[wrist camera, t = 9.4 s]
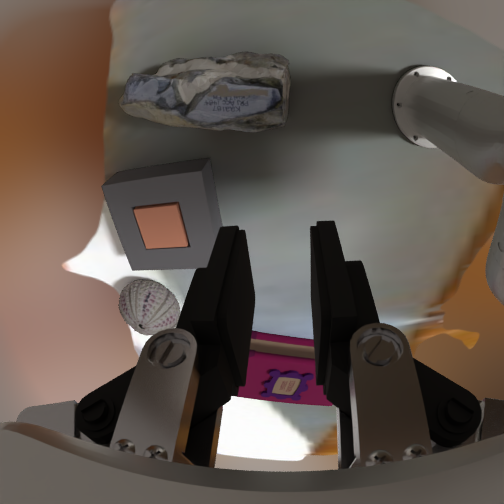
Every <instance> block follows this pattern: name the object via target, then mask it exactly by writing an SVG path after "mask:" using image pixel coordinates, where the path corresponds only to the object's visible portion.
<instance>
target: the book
mask: <svg viewBox="0 0 504 504" xmlns="http://www.w3.org/2000/svg"><path fill="white" fill-rule="evenodd" d="M237 397H244V398H251V399H258V400H266V401H275V402H284V403H295V404H307V405H322V406H332V405H333V404H332V403H331V402H329V401H328V400H327V399H326V395H323V385H319V386H316V372H315V352H314V340H313V339H305V338H297V337H290V336H283V335H276V334H269V333H262V332H257V331H252V334H251V343H250V351H249V360H248V368H247V377H246V384H245V387H241V386H239V392H238V396H237Z"/></svg>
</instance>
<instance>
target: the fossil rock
mask: <svg viewBox="0 0 504 504" xmlns="http://www.w3.org/2000/svg"><path fill="white" fill-rule="evenodd" d="M288 64H289V61H288V60H287V59H285V58H284V57H283V56H281V55H277V54H257V53H252V52H240V53H236V54H232V55H229V56H225V57H220V58H213V57H208V58H197V59H190V60H189V59H181V58H176V59H173V60H170V61H168V62H165V63H163V64H162V65H161V66H160V68H159V70H158V72H157V73H156V74H155V75H149V74H147V75H146V74H137V73H132V75H131V76H130V77H129V79H128V81H127V83H126V87H125V92H124V94H123V95H122V97H121V98H120V100H119V105H120V107H121V108H122V109H123V110H124V112H125V113H127V114H128V115H132V116H134V117H138V118H145V119H147V120H150V121H153V122H156V123H161V124H165V125H169V126H174V127H190V128H202V129H210V130H218V131H221V130H224V129H231V130H239V131H244V132H260V131H264V130H270V129H274V128H279V127H282V126H285V122H286V120H287V118H288V107H289V93H290V89H289V88H290V87H291V76H290V73H289V70H288Z"/></svg>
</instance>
